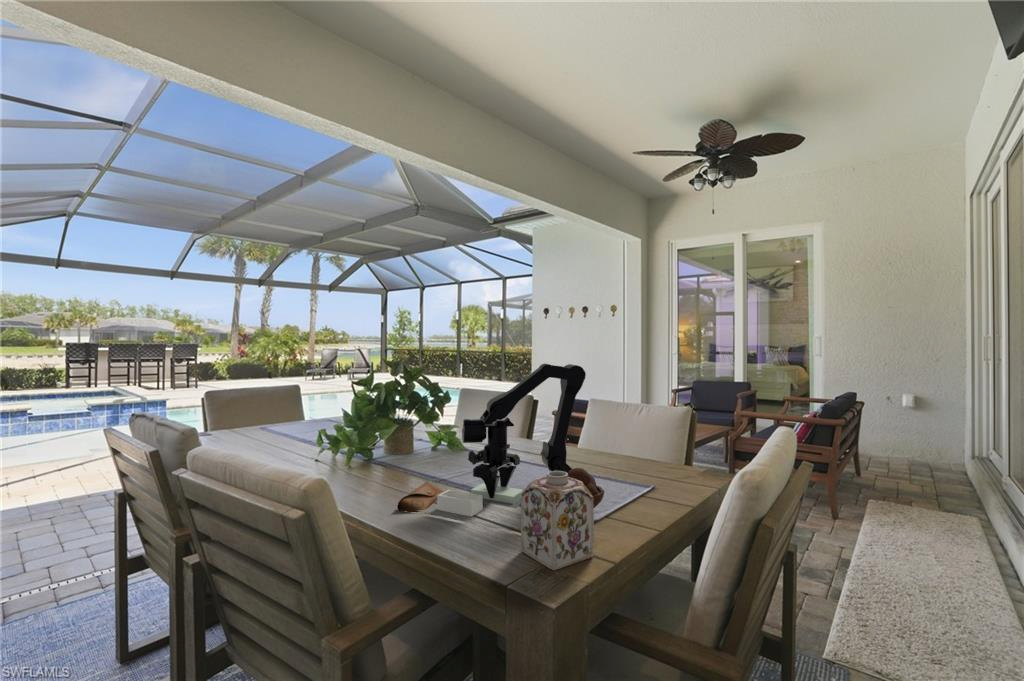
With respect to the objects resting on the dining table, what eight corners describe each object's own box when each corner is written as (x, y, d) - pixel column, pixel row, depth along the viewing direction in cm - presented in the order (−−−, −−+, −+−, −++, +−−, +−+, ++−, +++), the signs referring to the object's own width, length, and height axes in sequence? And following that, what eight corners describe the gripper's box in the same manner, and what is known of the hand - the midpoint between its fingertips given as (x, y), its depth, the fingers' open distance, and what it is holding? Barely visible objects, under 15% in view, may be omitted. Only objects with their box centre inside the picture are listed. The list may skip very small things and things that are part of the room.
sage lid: (523, 496, 143) (523, 489, 143) (513, 503, 137) (513, 496, 137) (482, 489, 150) (482, 483, 150) (471, 496, 144) (471, 489, 144)
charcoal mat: (533, 497, 145) (533, 495, 145) (515, 510, 134) (515, 507, 134) (481, 488, 153) (481, 486, 153) (460, 500, 142) (460, 497, 142)
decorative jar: (595, 557, 106) (595, 475, 106) (554, 573, 99) (554, 484, 99) (558, 538, 116) (559, 463, 115) (519, 551, 109) (519, 471, 109)
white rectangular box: (482, 511, 133) (482, 495, 133) (471, 518, 128) (471, 501, 128) (448, 505, 138) (448, 489, 138) (437, 511, 133) (437, 495, 133)
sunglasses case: (426, 513, 131) (414, 491, 132) (405, 525, 133) (393, 503, 133) (449, 492, 149) (439, 473, 149) (431, 503, 150) (420, 483, 151)
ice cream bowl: (604, 537, 116) (604, 474, 116) (557, 533, 118) (557, 472, 118) (604, 520, 127) (604, 463, 126) (561, 517, 129) (561, 460, 129)
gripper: (489, 433, 155) (489, 482, 156) (456, 445, 139) (456, 499, 139) (520, 436, 150) (520, 486, 150) (491, 449, 134) (491, 506, 134)
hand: (497, 494), depth 144 cm, fingers closed on sage lid, 7 cm apart
